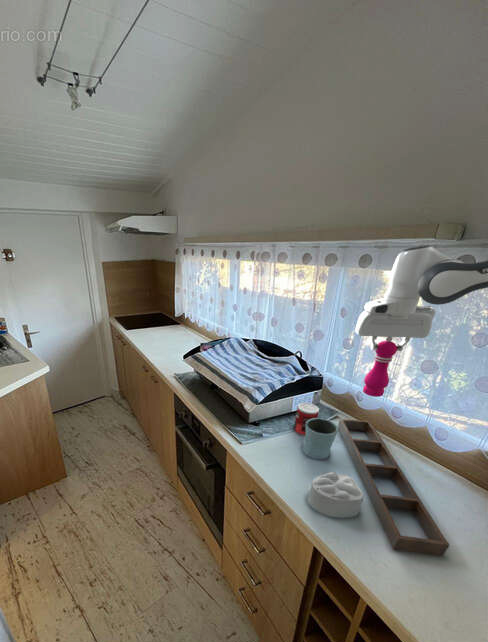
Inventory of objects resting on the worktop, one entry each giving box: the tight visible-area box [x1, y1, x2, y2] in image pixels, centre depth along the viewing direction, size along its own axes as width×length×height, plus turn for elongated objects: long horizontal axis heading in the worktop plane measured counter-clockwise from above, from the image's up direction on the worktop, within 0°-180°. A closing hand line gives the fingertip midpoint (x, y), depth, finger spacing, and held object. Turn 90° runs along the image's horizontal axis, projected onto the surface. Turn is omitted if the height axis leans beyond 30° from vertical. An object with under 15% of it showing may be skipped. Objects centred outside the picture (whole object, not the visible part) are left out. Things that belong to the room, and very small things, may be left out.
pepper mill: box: [362, 337, 398, 398], centre depth 101 cm, size 7×7×20 cm
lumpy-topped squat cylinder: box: [307, 471, 365, 518], centre depth 87 cm, size 10×13×9 cm
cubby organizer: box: [337, 418, 450, 557], centre depth 97 cm, size 11×55×5 cm, turn 170°
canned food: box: [293, 402, 320, 436], centre depth 119 cm, size 8×8×11 cm
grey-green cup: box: [302, 417, 339, 460], centre depth 107 cm, size 10×10×12 cm
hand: (385, 349), depth 99 cm, fingers closed on pepper mill, 6 cm apart
